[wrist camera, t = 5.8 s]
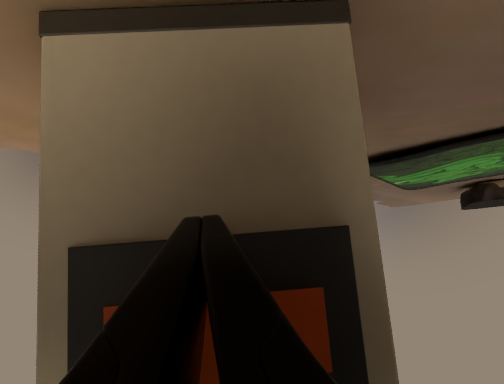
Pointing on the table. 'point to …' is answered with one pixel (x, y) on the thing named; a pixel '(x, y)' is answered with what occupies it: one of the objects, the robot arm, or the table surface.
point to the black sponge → (483, 195)
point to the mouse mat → (444, 164)
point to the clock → (209, 170)
